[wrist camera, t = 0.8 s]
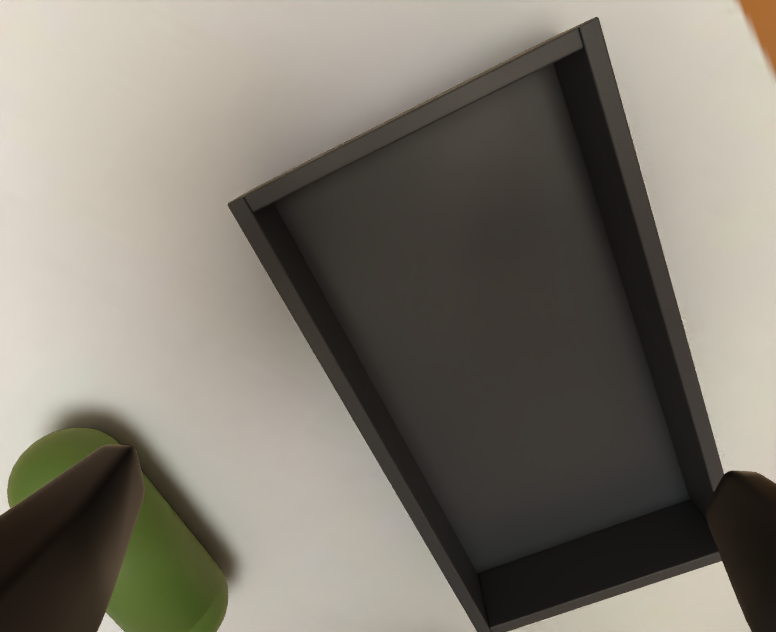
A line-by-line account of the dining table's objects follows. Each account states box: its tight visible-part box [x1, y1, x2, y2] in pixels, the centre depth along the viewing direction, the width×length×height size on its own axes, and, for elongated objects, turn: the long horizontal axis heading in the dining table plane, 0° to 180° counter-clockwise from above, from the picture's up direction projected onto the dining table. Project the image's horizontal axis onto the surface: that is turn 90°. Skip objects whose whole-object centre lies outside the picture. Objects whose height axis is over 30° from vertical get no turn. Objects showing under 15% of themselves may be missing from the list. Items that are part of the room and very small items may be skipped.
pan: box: [228, 17, 724, 632], centre depth 20 cm, size 12×22×3 cm, turn 25°
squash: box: [7, 428, 228, 632], centre depth 23 cm, size 4×12×4 cm, turn 25°
